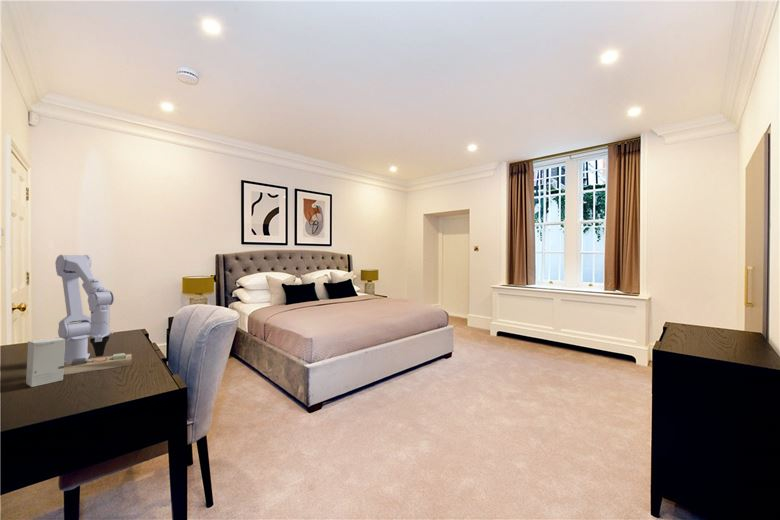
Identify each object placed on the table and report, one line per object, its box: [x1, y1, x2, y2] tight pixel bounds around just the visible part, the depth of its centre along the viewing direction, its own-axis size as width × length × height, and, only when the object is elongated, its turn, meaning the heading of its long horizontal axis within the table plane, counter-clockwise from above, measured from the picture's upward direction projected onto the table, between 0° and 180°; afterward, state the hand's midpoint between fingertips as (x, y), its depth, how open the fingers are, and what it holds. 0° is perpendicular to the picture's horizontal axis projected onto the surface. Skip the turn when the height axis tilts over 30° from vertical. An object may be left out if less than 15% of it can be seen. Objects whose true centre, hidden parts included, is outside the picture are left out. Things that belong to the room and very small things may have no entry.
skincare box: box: [25, 336, 65, 388], centre depth 115 cm, size 8×6×15 cm
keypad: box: [63, 353, 132, 376], centre depth 131 cm, size 9×20×2 cm, turn 128°
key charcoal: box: [72, 358, 86, 365], centre depth 127 cm, size 4×4×2 cm
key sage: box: [112, 352, 126, 360], centre depth 135 cm, size 4×4×2 cm
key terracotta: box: [93, 357, 106, 363], centre depth 131 cm, size 4×4×2 cm
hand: (99, 355), depth 131 cm, fingers closed
